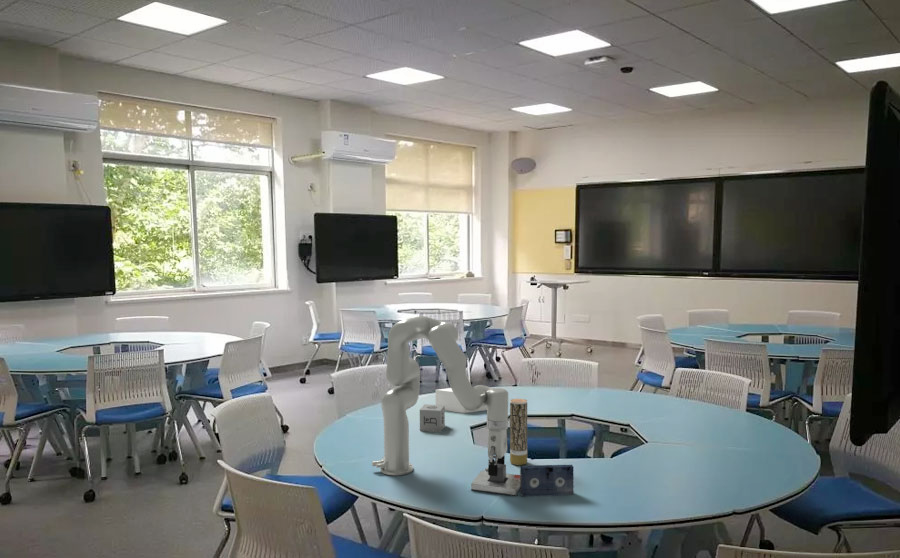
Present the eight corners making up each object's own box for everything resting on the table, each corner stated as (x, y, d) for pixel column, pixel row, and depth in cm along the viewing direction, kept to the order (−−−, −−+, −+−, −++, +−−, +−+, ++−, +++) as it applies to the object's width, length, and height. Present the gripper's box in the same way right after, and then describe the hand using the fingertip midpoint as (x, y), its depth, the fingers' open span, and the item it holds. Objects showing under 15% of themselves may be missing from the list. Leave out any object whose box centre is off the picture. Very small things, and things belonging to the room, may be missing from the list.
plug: (484, 485, 213) (484, 466, 213) (487, 481, 217) (487, 462, 217) (503, 487, 211) (503, 468, 210) (506, 483, 215) (506, 464, 214)
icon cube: (419, 430, 280) (419, 409, 279) (424, 424, 290) (424, 404, 289) (440, 431, 278) (440, 410, 278) (444, 425, 288) (444, 405, 287)
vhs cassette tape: (572, 492, 208) (572, 464, 208) (574, 495, 205) (574, 467, 205) (519, 493, 208) (519, 465, 207) (521, 496, 205) (521, 468, 204)
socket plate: (471, 490, 210) (471, 481, 210) (481, 477, 222) (481, 468, 222) (515, 496, 205) (515, 487, 204) (523, 482, 217) (523, 474, 217)
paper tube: (518, 467, 232) (518, 403, 231) (506, 462, 238) (506, 400, 236) (530, 463, 236) (530, 401, 235) (519, 458, 242) (519, 397, 240)
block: (436, 405, 325) (436, 386, 325) (491, 405, 324) (491, 386, 324) (434, 413, 310) (434, 393, 310) (492, 413, 310) (492, 393, 309)
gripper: (501, 431, 203) (500, 481, 204) (513, 418, 219) (512, 463, 220) (480, 429, 206) (479, 477, 207) (493, 416, 222) (492, 461, 223)
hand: (496, 470), depth 213 cm, fingers open, 9 cm apart
